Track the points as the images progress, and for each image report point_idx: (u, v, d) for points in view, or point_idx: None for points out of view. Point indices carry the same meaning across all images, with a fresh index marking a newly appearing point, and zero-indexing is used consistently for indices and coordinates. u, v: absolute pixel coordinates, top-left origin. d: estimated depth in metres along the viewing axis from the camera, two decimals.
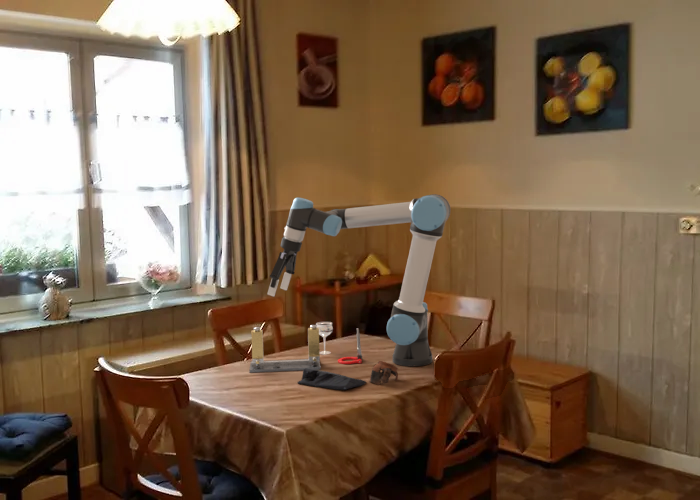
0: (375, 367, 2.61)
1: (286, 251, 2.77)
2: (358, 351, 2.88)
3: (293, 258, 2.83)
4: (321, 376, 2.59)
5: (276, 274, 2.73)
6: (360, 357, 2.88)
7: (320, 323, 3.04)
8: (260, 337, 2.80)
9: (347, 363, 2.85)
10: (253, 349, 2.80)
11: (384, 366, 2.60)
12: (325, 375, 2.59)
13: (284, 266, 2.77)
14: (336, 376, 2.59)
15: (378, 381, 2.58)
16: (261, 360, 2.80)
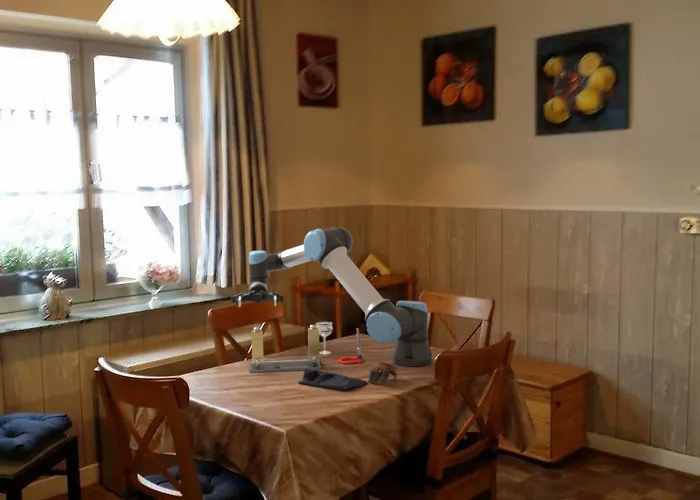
0: (374, 367, 2.61)
1: None
2: (358, 351, 2.88)
3: (264, 291, 3.02)
4: (322, 376, 2.59)
5: None
6: (360, 357, 2.88)
7: (320, 323, 3.04)
8: (260, 337, 2.80)
9: (347, 363, 2.85)
10: (253, 349, 2.80)
11: (383, 366, 2.60)
12: (326, 375, 2.59)
13: (246, 294, 2.99)
14: (337, 376, 2.59)
15: (377, 381, 2.59)
16: (261, 360, 2.80)
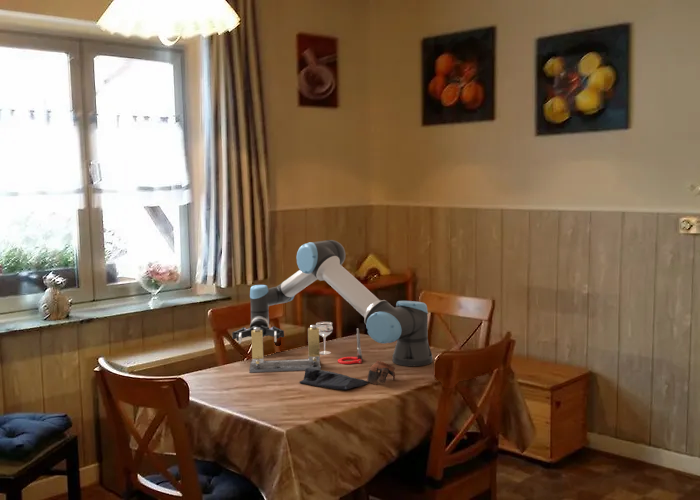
0: (372, 367, 2.61)
1: None
2: (358, 351, 2.88)
3: (264, 326, 3.04)
4: (323, 376, 2.59)
5: None
6: (360, 357, 2.88)
7: (320, 323, 3.04)
8: (260, 337, 2.80)
9: (347, 363, 2.85)
10: (253, 349, 2.80)
11: (381, 366, 2.60)
12: (327, 375, 2.59)
13: (247, 330, 3.01)
14: (338, 376, 2.59)
15: (375, 381, 2.59)
16: (261, 360, 2.80)
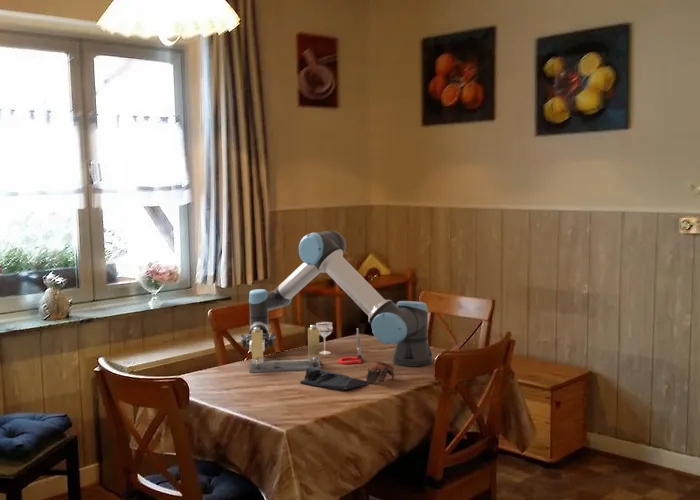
0: (371, 367, 2.61)
1: (247, 336, 2.94)
2: (358, 351, 2.88)
3: None
4: (323, 376, 2.59)
5: (242, 340, 2.84)
6: (360, 357, 2.88)
7: (320, 323, 3.04)
8: (260, 337, 2.80)
9: (347, 363, 2.85)
10: (253, 349, 2.80)
11: (380, 366, 2.60)
12: (327, 375, 2.59)
13: None
14: (338, 376, 2.59)
15: (374, 381, 2.59)
16: (261, 360, 2.80)
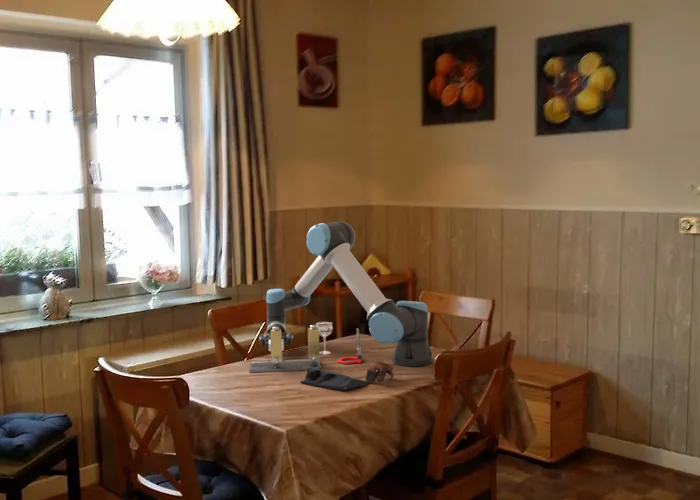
0: (370, 366, 2.62)
1: (265, 335, 2.95)
2: (358, 351, 2.88)
3: None
4: (323, 376, 2.59)
5: (261, 340, 2.85)
6: (360, 357, 2.88)
7: (320, 323, 3.04)
8: (279, 336, 2.80)
9: (347, 363, 2.85)
10: (272, 348, 2.81)
11: (379, 365, 2.61)
12: (327, 375, 2.59)
13: (270, 336, 2.89)
14: (338, 376, 2.58)
15: (374, 380, 2.59)
16: (280, 360, 2.81)
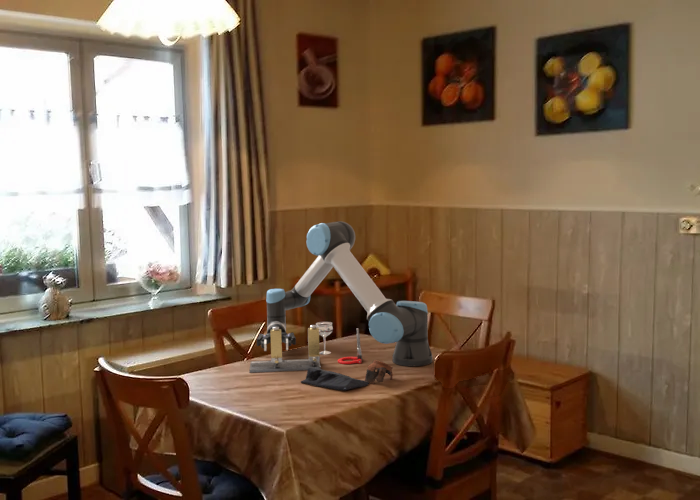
0: (370, 366, 2.62)
1: (265, 335, 2.95)
2: (358, 351, 2.88)
3: (281, 332, 2.92)
4: (323, 376, 2.59)
5: (257, 339, 2.85)
6: (360, 357, 2.88)
7: (320, 323, 3.04)
8: (279, 336, 2.80)
9: (347, 363, 2.85)
10: (272, 348, 2.81)
11: (379, 365, 2.61)
12: (327, 375, 2.59)
13: (268, 336, 2.89)
14: (338, 376, 2.58)
15: (373, 380, 2.59)
16: (280, 360, 2.81)
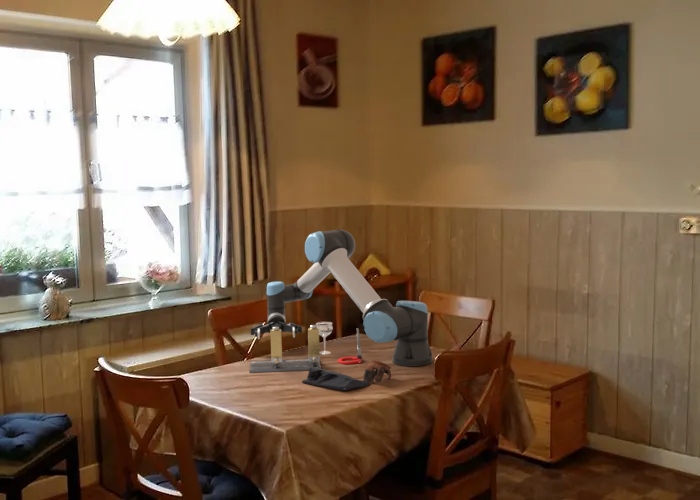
0: (368, 366, 2.62)
1: None
2: (358, 351, 2.88)
3: (282, 322, 3.06)
4: (324, 376, 2.59)
5: None
6: (360, 357, 2.88)
7: (320, 323, 3.04)
8: (279, 336, 2.80)
9: (347, 363, 2.85)
10: (272, 348, 2.81)
11: (377, 365, 2.61)
12: (328, 375, 2.59)
13: (265, 326, 3.03)
14: (339, 376, 2.58)
15: (371, 380, 2.60)
16: (280, 360, 2.81)
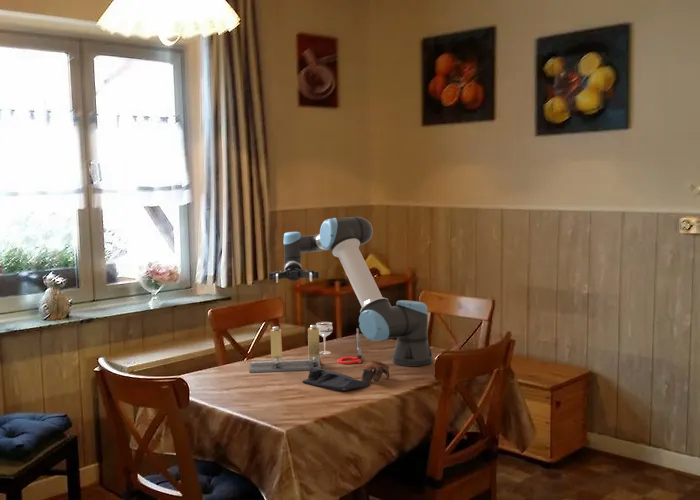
0: (367, 366, 2.62)
1: None
2: (358, 351, 2.88)
3: (299, 269, 3.15)
4: (324, 376, 2.59)
5: None
6: (360, 357, 2.88)
7: (320, 323, 3.04)
8: (279, 336, 2.80)
9: (347, 363, 2.85)
10: (272, 348, 2.81)
11: (376, 365, 2.61)
12: (328, 375, 2.59)
13: (283, 271, 3.12)
14: (339, 377, 2.58)
15: (370, 380, 2.60)
16: (280, 360, 2.81)
